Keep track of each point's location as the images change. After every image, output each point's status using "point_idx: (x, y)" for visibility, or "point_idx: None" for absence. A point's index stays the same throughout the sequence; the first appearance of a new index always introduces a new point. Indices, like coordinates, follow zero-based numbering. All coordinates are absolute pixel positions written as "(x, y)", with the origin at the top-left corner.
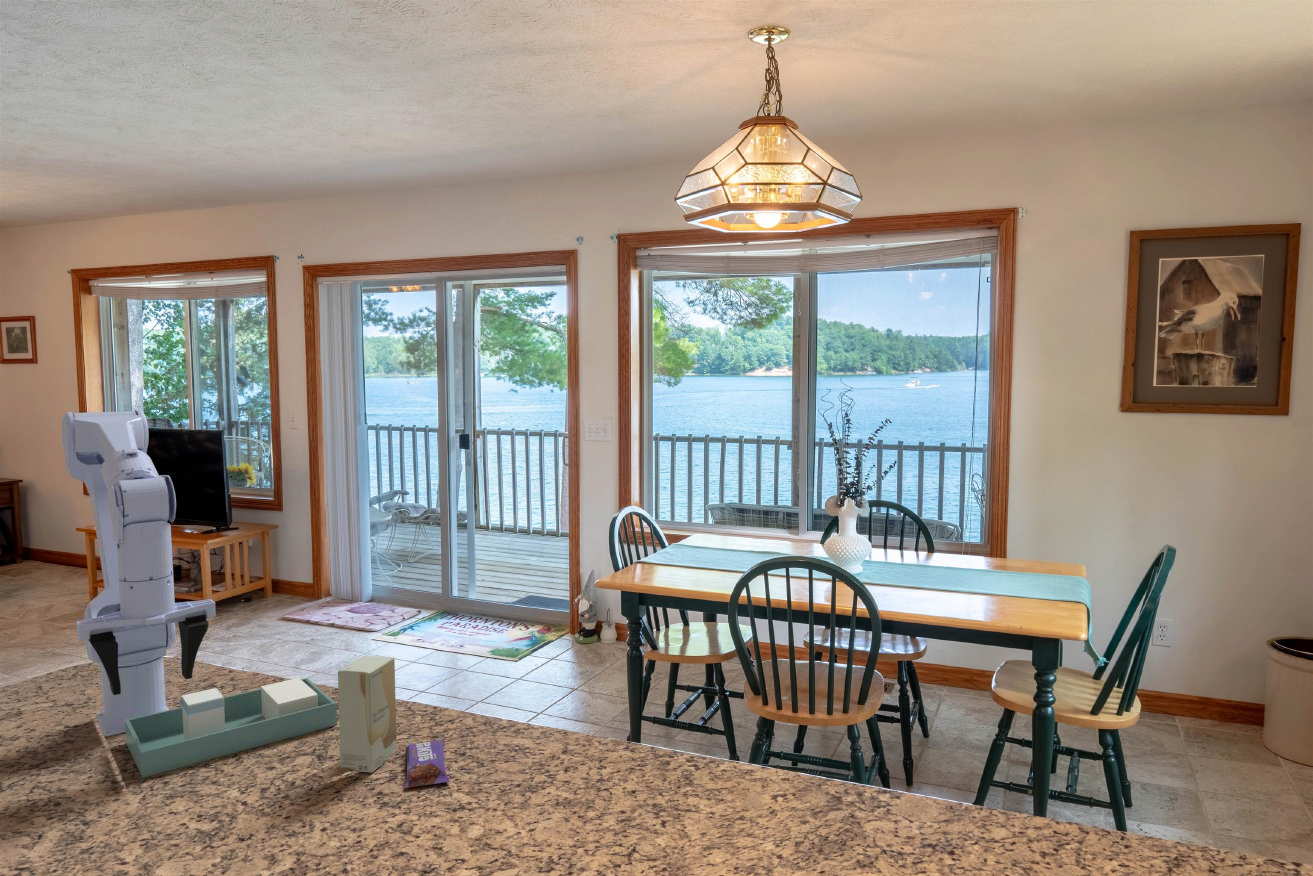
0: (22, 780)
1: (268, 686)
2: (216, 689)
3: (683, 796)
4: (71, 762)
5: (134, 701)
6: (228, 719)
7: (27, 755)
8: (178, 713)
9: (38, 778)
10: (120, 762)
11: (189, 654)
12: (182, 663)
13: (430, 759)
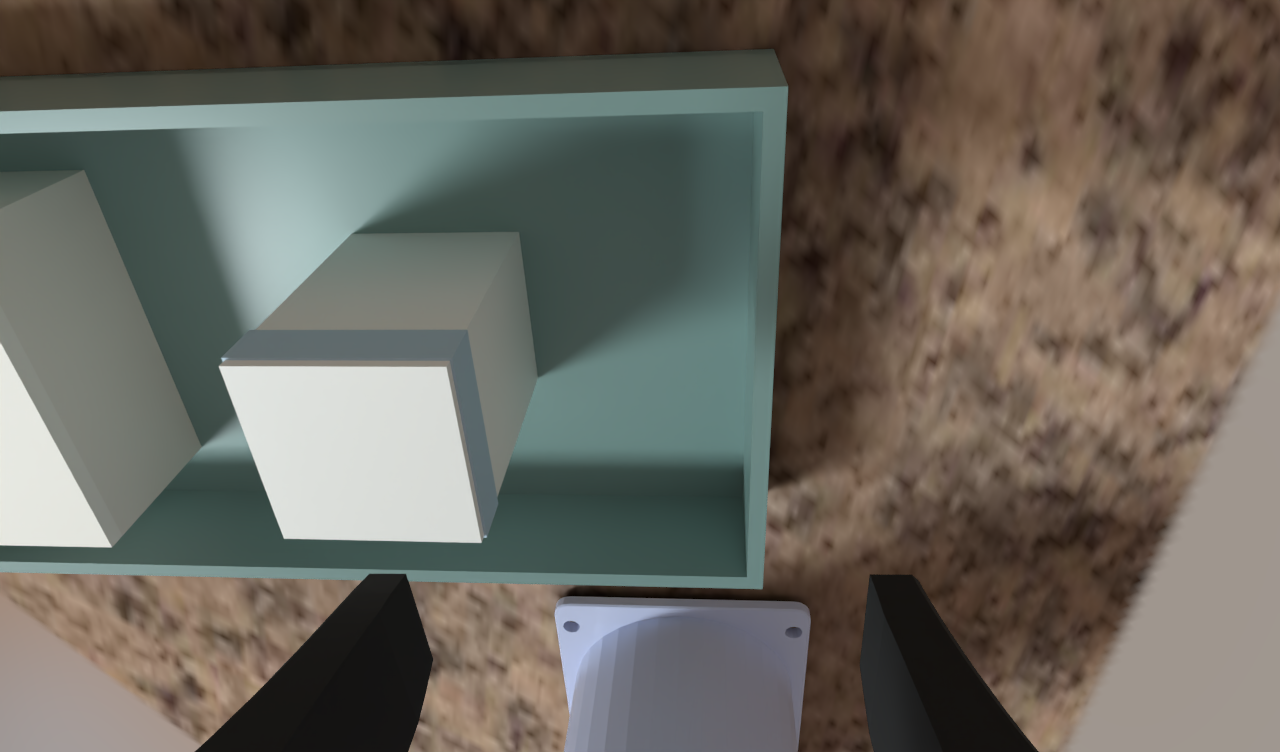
0: (1175, 431)
1: (70, 527)
2: (280, 516)
3: None
4: (968, 482)
5: (694, 718)
6: None
7: (1068, 630)
8: (530, 554)
9: (1122, 411)
10: (809, 361)
11: (269, 745)
12: (394, 734)
13: None
